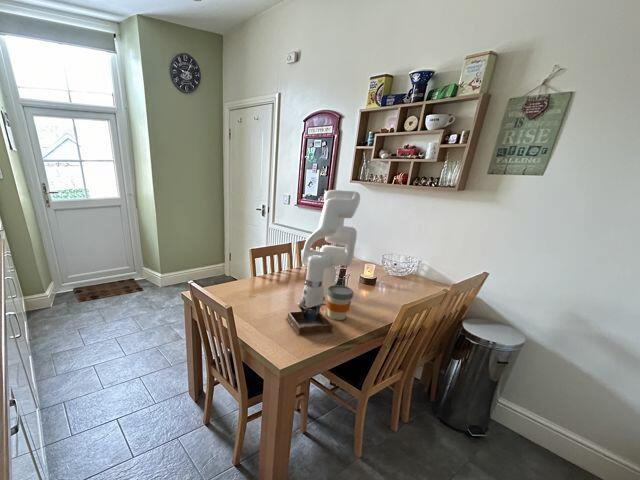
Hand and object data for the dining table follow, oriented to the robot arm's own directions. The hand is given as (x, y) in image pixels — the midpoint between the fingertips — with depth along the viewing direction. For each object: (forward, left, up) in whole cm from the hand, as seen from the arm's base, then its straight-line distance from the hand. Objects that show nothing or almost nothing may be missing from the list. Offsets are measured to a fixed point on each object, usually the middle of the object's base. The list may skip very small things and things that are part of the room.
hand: (310, 315), depth 158 cm
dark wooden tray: (0, +1, -5) cm, 5 cm away
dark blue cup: (0, 0, -1) cm, 1 cm away
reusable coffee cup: (-18, -6, -5) cm, 19 cm away
